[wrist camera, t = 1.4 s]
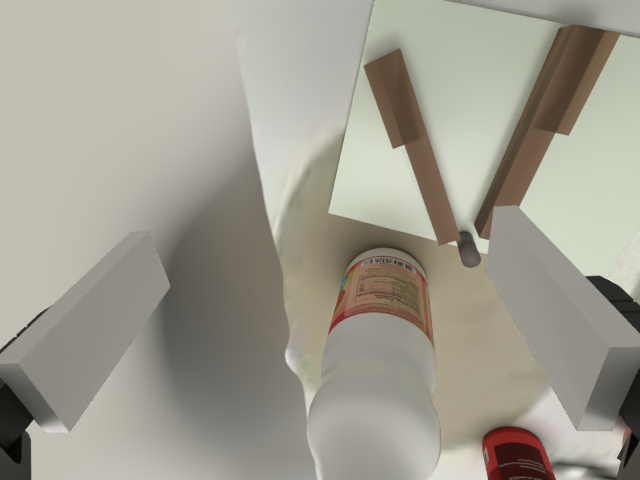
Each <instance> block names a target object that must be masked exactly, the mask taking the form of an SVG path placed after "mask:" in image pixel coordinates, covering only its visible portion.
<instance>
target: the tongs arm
mask: <svg viewBox="0 0 640 480" xmlns="http://www.w3.org/2000/svg"><path fill="white" fill-rule="evenodd" d="M363 67H364V70H365V73H366V75H367V78H368V81H369V84H370V87H371V89H372V92H373V95H374V98H375V101H376V103H377V106H378V109H379V112H380V115H381V117H382V120H383V123H384V126H385V129H386V131H387V134H388V137H389V140H390V143H391V145H392V148H393V149H395V148H397V147H400V146H403V145H405V148H406V151H407V154H408V157H409V160H410V163H411V166H412V169H413V172H414V174H415V177H416V180H417V183H418V186H419V189H420V192H421V195H422V198H423V201H424V203H425V206H426V209H427V212H428V215H429V218H430V221H431V224H432V227H433V230H434V232H435V235H436V238H437V241H438V244H439V245H443V244H446V243H450V242H454V241H457V240H461V238H460V235H459V231H458V228H457V225H456V222H455V219H454V216H453V212H452V209H451V206H450V203H449V200H448V197H447V194H446V190H445V187H444V184H443V181H442V178H441V175H440V172H439V168H438V165H437V162H436V159H435V156H434V153H433V150H432V146H431V143H430V140H429V137H428V134H427V131H426V128H425V124H424V121H423V118H422V115H421V112H420V109H419V106H418V102H417V99H416V96H415V93H414V90H413V87H412V84H411V80H410V77H409V74H408V71H407V68H406V65H405V62H404V58H403V55H402V52H401V49H400V48H399V49H397V50H395V51H393V52H391V53H389V54H387V55H385V56H382V57H380V58H378V59H376V60H374V61H372V62H370V63H368V64H366V65H364V66H363Z"/></svg>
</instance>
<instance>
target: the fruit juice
mask: <svg viewBox="0 0 640 480" xmlns="http://www.w3.org/2000/svg"><path fill="white" fill-rule="evenodd" d="M321 380H322V385H321V386H320V388H319V389H318V391H317V392H316V394H315V396H314V398H313V401H312V403H311V406H310V410H309V415H308V421H307V437H308V442H309V447H310V450H311V453H312V455H313V458H314V460H315V462H316V464H317V466H318V467H319V469H320V472H321V477H322V480H429V478H430V477H431V475H432V474H433V472H434V470H435V468H436V466H437V464H438V461H439V457H440V452H441V427H440V422H439V418H438V415H437V412H436V409H435V407H434V404H433V402H432V399H433V397H434V394H435V390H436V381H437V369H436V356H435V349H434V339H433V329H432V319H431V310H430V300H429V291H428V282H427V278H426V276H425V273H424V271H423V269H422V267H421V266H420V265H419V263H418V262H417V261H416V260H415V259H414V258H413V257H411V256H410V255H408V254H406V253H405V252H402V251H400V250H397V249H392V248H375V249H371V250H368V251H366V252H363V253H362V254H360V255H359V256H357V257H356V258H355V259H354V260H353V261H352V262H351V263H350V265H349V266H348V268H347V270H346V272H345V275H344V278H343V282H342V285H341V289H340V293H339V296H338V300H337V304H336V307H335V311H334V315H333V318H332V322H331V326H330V329H329V333H328V337H327V340H326V343H325V347H324V351H323V357H322V363H321Z"/></svg>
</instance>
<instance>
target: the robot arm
mask: <svg viewBox="0 0 640 480" xmlns="http://www.w3.org/2000/svg"><path fill="white" fill-rule="evenodd" d="M485 271H486V272H487V274H488V276H489V278H490V279H491V281H492V283H493V285H494V286H495V288H496V290H497V292H498V294H499V295H500V297H501V299H502V301H503V302H504V304H505V306H506V308H507V309H508V311H509V313H510V315H511V316H512V318H513V320H514V322H515V323H516V325H517V327H518V329H519V330H520V332H521V334H522V336H523V337H524V339H525V341H526V343H527V344H528V346H529V348H530V350H531V351H532V353H533V355H534V357H535V358H536V360H537V362H538V364H539V366H540V367H541V369H542V371H543V373H544V374H545V376H546V378H547V380H548V381H549V383H550V385H551V387H552V388H553V390H554V392H555V394H556V395H557V397H558V399H559V401H560V402H561V404H562V406H563V408H564V409H565V411H566V413H567V415H568V416H569V418H570V420H571V422H572V423H573V425H574V427H575V429H576V430H577V431H612V429H613V427H614V425H615V423H616V421H617V419H618V417H619V415H621V417H622V418H623V420H624V421H625V423H626V424H627V425H628V427H629V428H630V430H631V432H630V434H629V436H628V438H627V440H626V442H625V444H624V445H623V447H622V449H621V451H620V453H619V455H618V457H617V459H619V460H621V463H620V467H619V471H618V474H617V478H616V480H640V305H639V304H638V303H637V302H633V299H632V298H631V297H630V296H629V295H628V294H627V293H626V292H625V291H624V290H623V289H622V288H621V287H620V286H618V285H616V284H614V283H613V282H611V281H609V280H607V279H605V278H603V277H602V276H600V275H597V276H584V275H583V274H582V273H581V272H580V271H579V270H578V269H577V268H576V267H575V266H574V264H573V263H572V262H571V261H570V260H569V259H568V258H567V257H566V256H565V255H564V254H563V253H562V252H561V251H560V250H559V249H558V248H557V247H556V246H555V245H554V244H553V243H552V242H551V240H550V239H549V238H548V237H547V236H546V235H545V234H544V233H543V232H542V231H541V230H540V229H539V228H538V227H537V226H536V225H535V224H534V223H533V222H532V221H531V220H530V219H529V218H528V216H527V215H526V214H525V213H524V212H523V211H522V210H521V209H520V208H519V207H518V206H517V205H512V206H497V207H494V211H493V218H492V225H491V232H490V239H489V247H488V254H487V261H486V268H485ZM169 288H170V284H169V281H168V279H167V276H166V274H165V271H164V268H163V266H162V263H161V261H160V258H159V255H158V253H157V250H156V248H155V245H154V243H153V241H152V238H151V235H150V232H149V231H138V232H130V233H129V234H128V235H127V236H126V237H125V238H124V239H123V240H122V241H121V242H120V243H119V244H117V245H116V246H115V248H113V249H112V250H111V251H110V252H109V253H108V254H107V255H106V256H105V257H104V258H102V259H101V260H100V261H99V262H98V263H97V264H96V265H95V266H94V267H93V268H92V269H91V270H90V271H89V272H88V273H86V275H84V276H83V277H82V278H81V279H80V280H79V281H78V282H77V283H76V284H75V285H74V286H73V287H71V288H70V289H69V290H68V291H67V292H66V293H65V294H64V295H63V296H62V297H61V298H60V299H59V300H58V301H56V302H55V304H53V305H52V306H50V307H49V308H47V309H46V310H44V311H42V312H41V313H40V314H38V315H37V316H36V317H35V318H34V319H33V320H32V321H31V322H30V323H29V324H28V325H27V327H24V328H23V329H22V330H21V331H20V332H19V333H18V334H17V337H14V338H12V340H10V341H9V342H8V343H7V344H6V345H5V346H4V347H3V348H2V349H1V350H0V480H31V439H30V436H29V434H28V433H27V432H26V431H25V429H26V428H27V427H28V426H29V425H30V423H31V422H32V421H33V420H35V421H36V423H37V424H38V425H39V426H40V428H41V429H42V430H43V431H44V432H45V433H61V432H62V433H64V432H65V433H67V432H68V433H70V431H71V430H72V428H73V427H74V425H75V424H76V423H77V421H78V420H79V418H80V417H81V415H82V414H83V412H84V411H85V410H86V408H87V407H88V405H89V404H90V402H91V401H92V399H93V398H94V396H95V395H96V394H97V392H98V391H99V389H100V388H101V386H102V385H103V383H104V382H105V380H106V379H107V377H108V376H109V375H110V373H111V372H112V370H113V369H114V367H115V366H116V365H117V363H118V362H119V360H120V359H121V357H122V356H123V354H124V353H125V351H126V350H127V348H128V347H129V346H130V344H131V343H132V341H133V340H134V338H135V337H136V335H137V334H138V333H139V331H140V330H141V328H142V327H143V325H144V324H145V323H146V321H147V320H148V318H149V317H150V315H151V314H152V312H153V311H154V309H155V308H156V307H157V305H158V303H159V302H160V301H161V299H162V298H163V296H164V295H165V294H166V292H167V291H168V289H169Z"/></svg>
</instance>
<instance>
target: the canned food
mask: <svg viewBox="0 0 640 480" xmlns="http://www.w3.org/2000/svg"><path fill="white" fill-rule="evenodd" d="M482 450H483V455H484V461H485V466H486V471H487V476H488V480H556V479H555V476H554V473H553V471H552V468H551V465H550V462H549V460H548V457H547V454H546V451H545V449H544V447H543V445H542V444H541V442H540V441H539V440H538V438H537V437H536V436H534V435H533V434H531V433H530V432H528V431H525V430H522V429H518V428H501V429H497V430H494V431H492V432H491V433H489V434H488V435H487V436H486V437H485V439H484V442H483V449H482Z"/></svg>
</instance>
